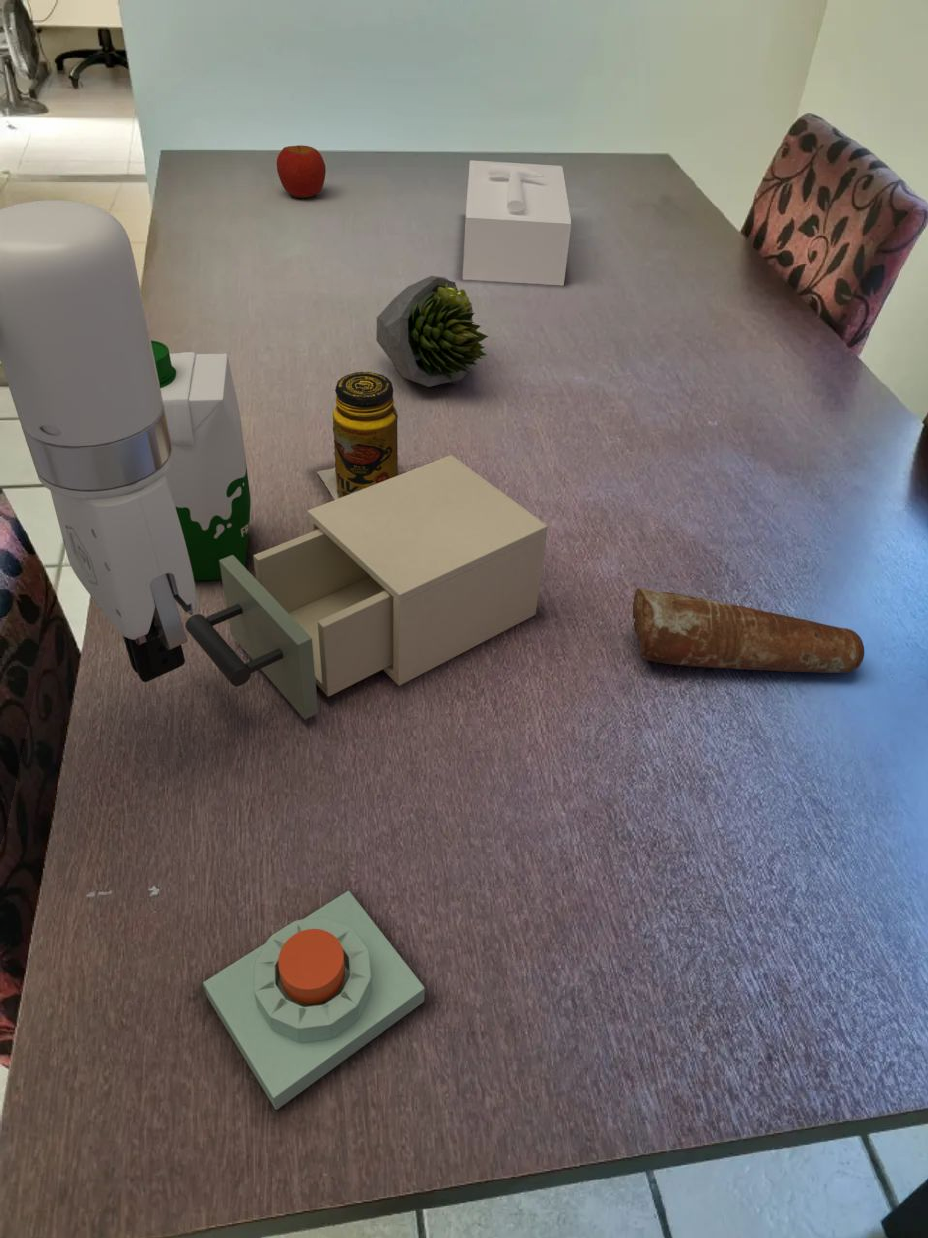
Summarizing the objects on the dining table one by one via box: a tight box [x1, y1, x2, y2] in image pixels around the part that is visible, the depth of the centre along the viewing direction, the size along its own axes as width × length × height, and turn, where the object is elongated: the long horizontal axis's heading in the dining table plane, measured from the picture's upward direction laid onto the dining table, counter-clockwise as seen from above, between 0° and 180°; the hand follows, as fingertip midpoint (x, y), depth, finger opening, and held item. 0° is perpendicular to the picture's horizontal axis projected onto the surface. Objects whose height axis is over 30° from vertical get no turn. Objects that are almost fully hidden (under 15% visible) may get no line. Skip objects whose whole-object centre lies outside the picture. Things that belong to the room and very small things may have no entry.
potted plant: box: [376, 275, 489, 388], centre depth 108 cm, size 12×13×15 cm
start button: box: [278, 929, 345, 1004], centre depth 53 cm, size 4×4×2 cm
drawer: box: [185, 529, 394, 720], centre depth 73 cm, size 18×11×8 cm, turn 129°
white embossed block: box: [462, 160, 572, 287], centre depth 139 cm, size 14×25×11 cm, turn 178°
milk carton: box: [150, 339, 252, 582], centre depth 78 cm, size 9×9×20 cm
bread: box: [632, 587, 865, 674], centre depth 76 cm, size 6×19×6 cm, turn 84°
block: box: [202, 890, 426, 1111], centre depth 54 cm, size 10×8×4 cm
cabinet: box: [307, 454, 548, 687], centre depth 78 cm, size 15×13×10 cm
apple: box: [276, 144, 327, 199], centre depth 153 cm, size 8×8×8 cm
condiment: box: [316, 371, 399, 501], centre depth 90 cm, size 7×8×12 cm
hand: (159, 666), depth 65 cm, fingers closed
